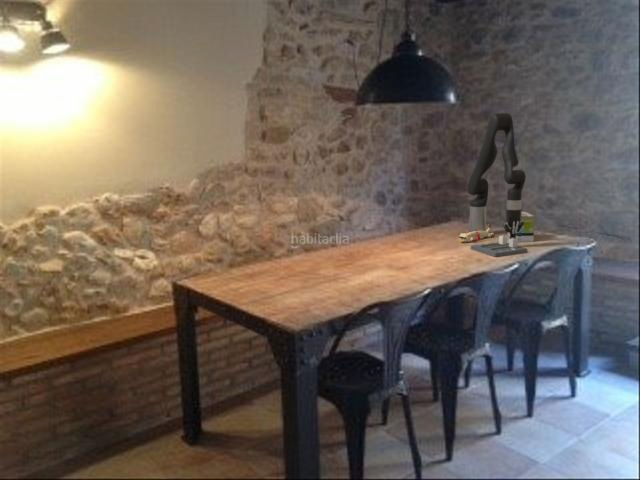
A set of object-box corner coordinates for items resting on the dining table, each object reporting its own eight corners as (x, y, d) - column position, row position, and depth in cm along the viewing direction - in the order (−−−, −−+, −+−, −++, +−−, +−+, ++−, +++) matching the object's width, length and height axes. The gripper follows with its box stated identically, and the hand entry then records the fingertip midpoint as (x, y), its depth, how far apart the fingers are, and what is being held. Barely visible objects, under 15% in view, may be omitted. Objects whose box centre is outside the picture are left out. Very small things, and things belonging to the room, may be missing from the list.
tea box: (534, 241, 319) (535, 215, 316) (515, 242, 319) (516, 216, 316) (525, 236, 334) (526, 210, 330) (507, 236, 334) (508, 211, 331)
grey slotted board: (470, 249, 308) (470, 244, 307) (501, 244, 315) (501, 240, 314) (495, 257, 289) (495, 252, 289) (527, 252, 296) (527, 247, 296)
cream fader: (498, 243, 308) (499, 235, 307) (503, 242, 309) (503, 234, 308) (502, 244, 305) (502, 236, 304) (507, 243, 306) (507, 235, 305)
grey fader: (508, 246, 301) (509, 237, 300) (513, 245, 302) (513, 237, 301) (512, 247, 298) (513, 238, 297) (517, 246, 299) (517, 238, 298)
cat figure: (483, 237, 341) (453, 240, 327) (484, 222, 339) (454, 225, 325) (496, 240, 332) (466, 243, 319) (498, 225, 331) (468, 227, 317)
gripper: (519, 206, 311) (517, 237, 315) (499, 208, 307) (498, 240, 310) (528, 207, 304) (527, 240, 308) (508, 210, 300) (507, 242, 303)
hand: (512, 240), depth 309 cm, fingers closed
